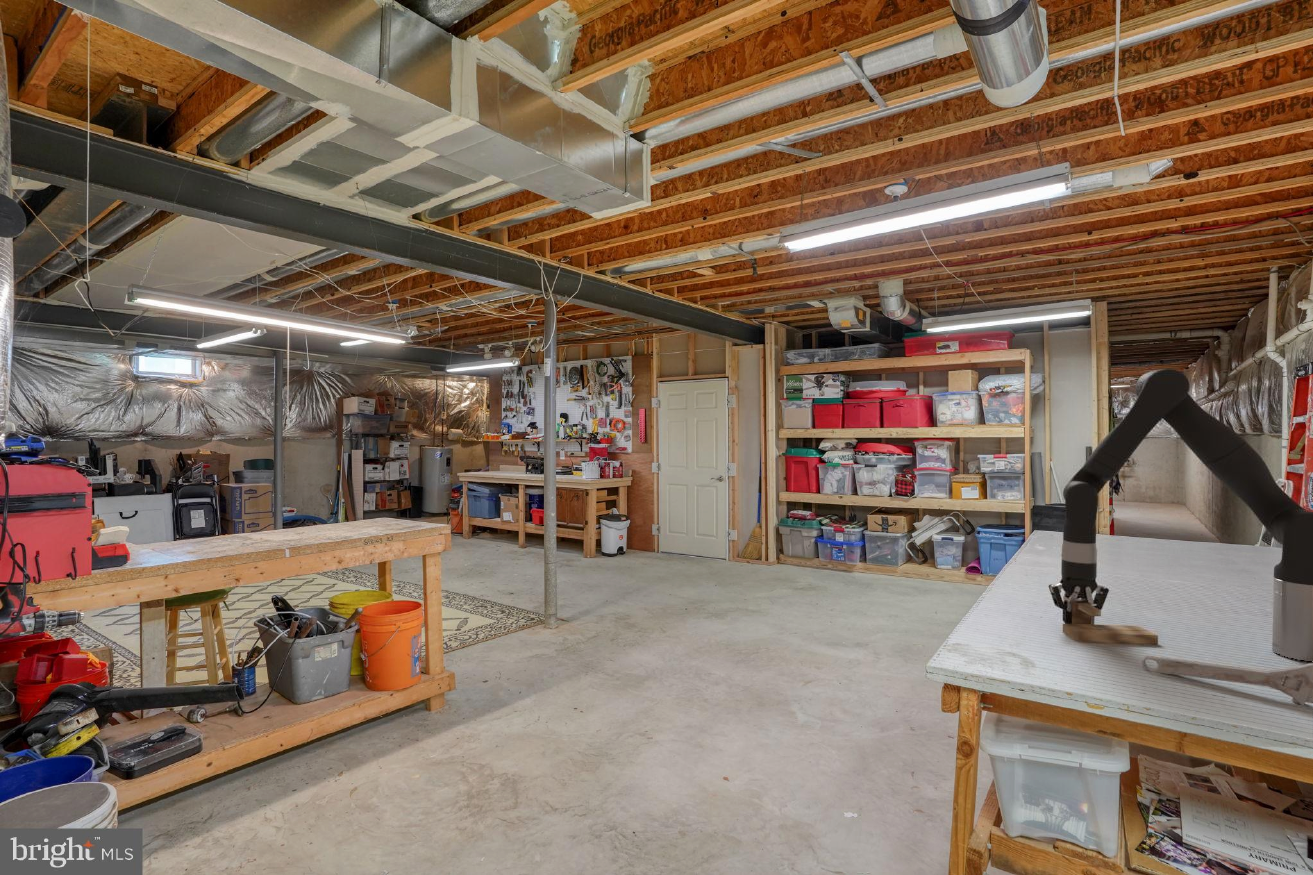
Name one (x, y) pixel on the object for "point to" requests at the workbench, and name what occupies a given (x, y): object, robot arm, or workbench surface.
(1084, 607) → the gauge
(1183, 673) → the wrench
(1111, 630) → the board
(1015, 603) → the workbench surface
